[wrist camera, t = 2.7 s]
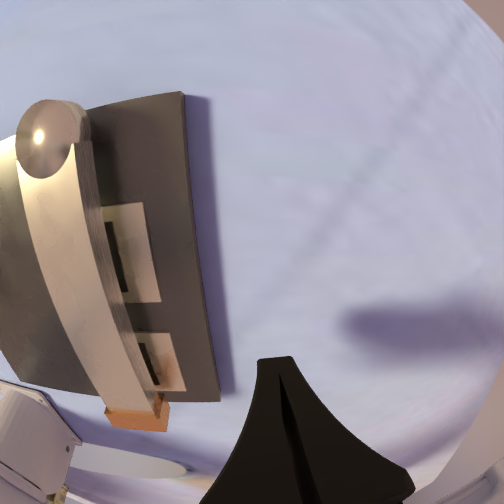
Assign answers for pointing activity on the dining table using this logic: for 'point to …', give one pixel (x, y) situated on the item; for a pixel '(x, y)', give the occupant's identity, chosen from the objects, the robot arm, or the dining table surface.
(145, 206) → the label panel
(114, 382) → the swing arm
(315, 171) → the dining table surface
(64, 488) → the coffee can
